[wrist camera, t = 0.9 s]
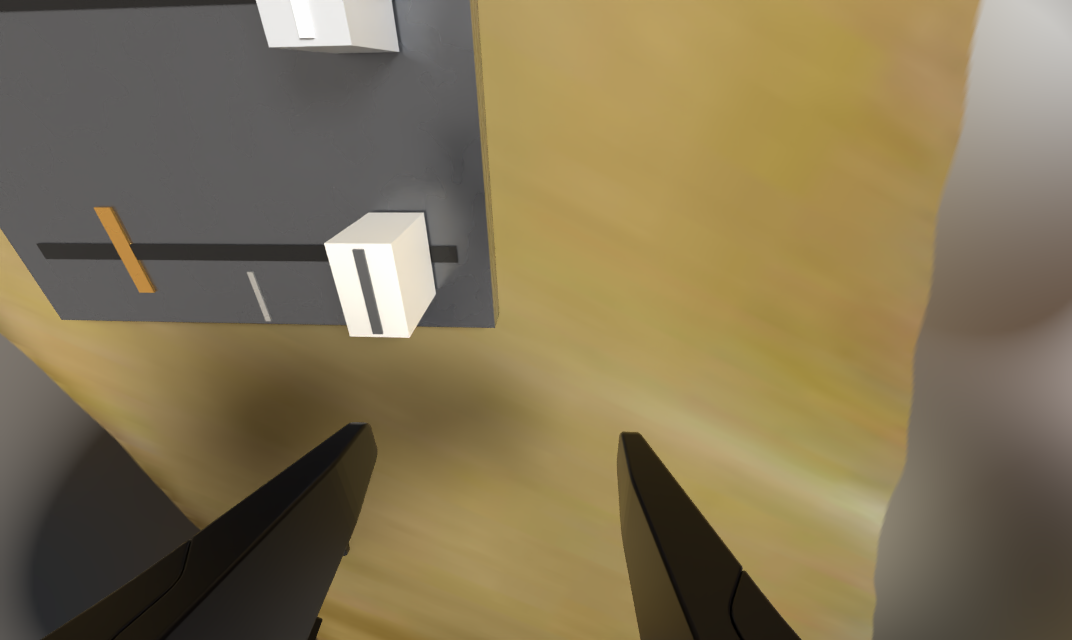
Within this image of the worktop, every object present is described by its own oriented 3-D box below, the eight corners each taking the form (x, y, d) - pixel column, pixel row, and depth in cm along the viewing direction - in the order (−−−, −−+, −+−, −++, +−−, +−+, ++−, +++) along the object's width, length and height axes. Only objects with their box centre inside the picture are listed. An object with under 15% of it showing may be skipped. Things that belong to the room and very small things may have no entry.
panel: (499, 313, 23) (494, 329, 22) (88, 306, 24) (59, 320, 23) (465, -163, 14) (454, -190, 13) (-181, -126, 15) (-255, -147, 14)
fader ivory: (436, 293, 21) (408, 338, 17) (386, 293, 21) (349, 337, 17) (423, 212, 19) (390, 244, 15) (368, 212, 19) (322, 244, 15)
